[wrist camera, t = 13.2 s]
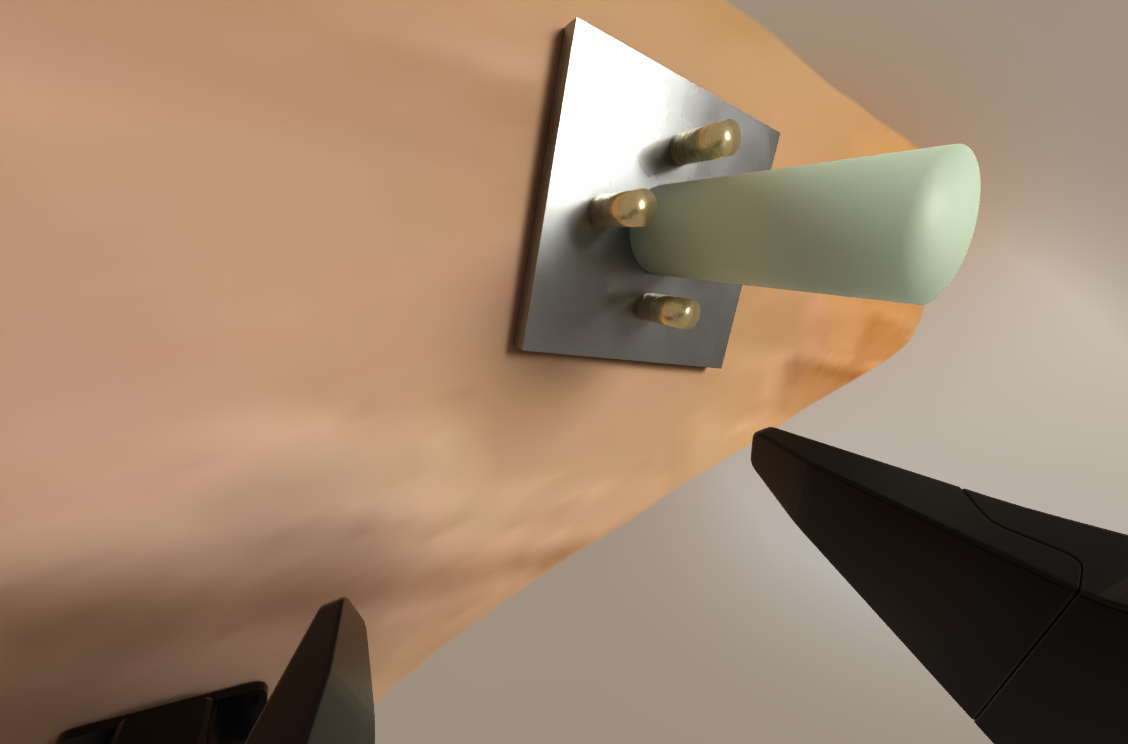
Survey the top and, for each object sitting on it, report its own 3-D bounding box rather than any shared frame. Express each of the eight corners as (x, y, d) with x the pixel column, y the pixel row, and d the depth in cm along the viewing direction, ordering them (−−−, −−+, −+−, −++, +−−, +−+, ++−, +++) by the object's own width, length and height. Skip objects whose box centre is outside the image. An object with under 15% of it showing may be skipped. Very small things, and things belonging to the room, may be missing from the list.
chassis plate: (709, 364, 29) (762, 381, 25) (514, 346, 21) (552, 365, 18) (765, 136, 26) (832, 121, 23) (564, 26, 19) (620, -19, 16)
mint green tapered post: (699, 261, 25) (967, 279, 15) (637, 285, 23) (892, 325, 13) (691, 176, 23) (990, 131, 13) (623, 195, 21) (908, 160, 11)
